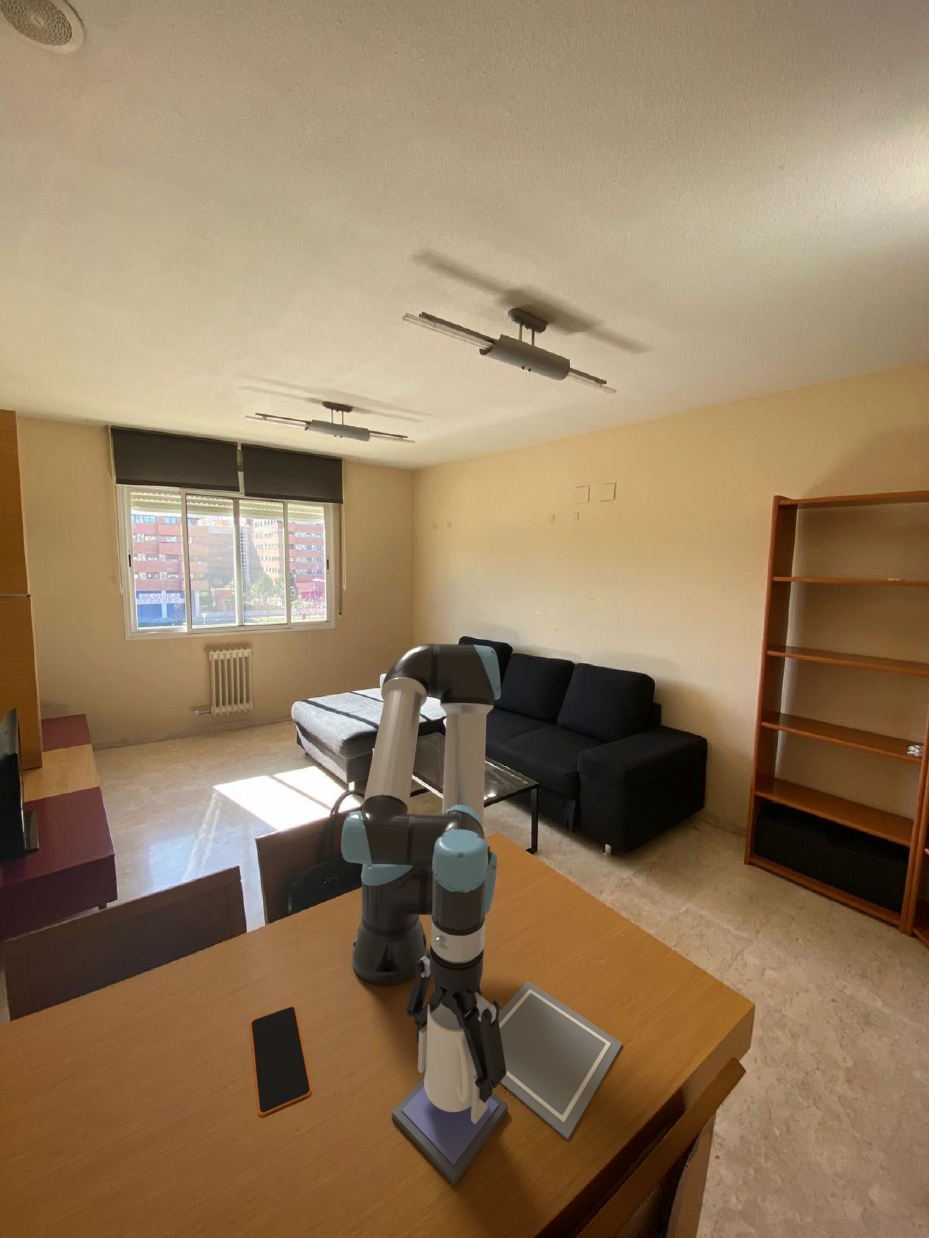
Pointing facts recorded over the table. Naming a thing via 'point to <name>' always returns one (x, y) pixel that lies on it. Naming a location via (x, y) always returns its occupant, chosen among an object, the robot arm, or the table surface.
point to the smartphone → (279, 1061)
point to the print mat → (552, 1057)
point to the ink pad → (447, 1130)
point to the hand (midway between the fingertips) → (451, 1088)
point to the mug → (448, 1062)
